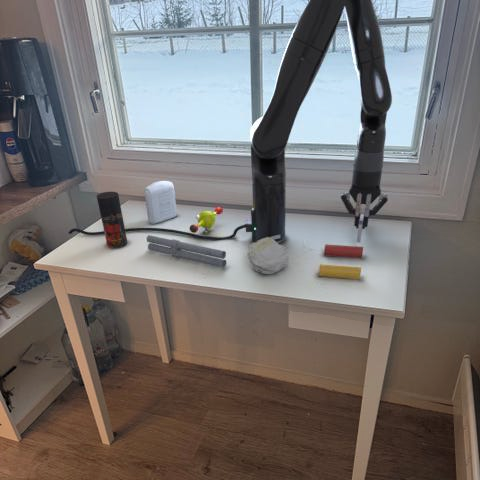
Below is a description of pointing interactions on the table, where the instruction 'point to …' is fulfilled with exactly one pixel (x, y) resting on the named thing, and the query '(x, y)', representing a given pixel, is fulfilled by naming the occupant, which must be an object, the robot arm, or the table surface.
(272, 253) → the fossil replica
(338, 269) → the yellow rod
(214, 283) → the table surface
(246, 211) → the table surface
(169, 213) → the white rounded block
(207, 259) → the metal rod assembly
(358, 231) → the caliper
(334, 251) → the red rod
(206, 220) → the toy figure
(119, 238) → the deodorant
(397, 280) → the table surface
